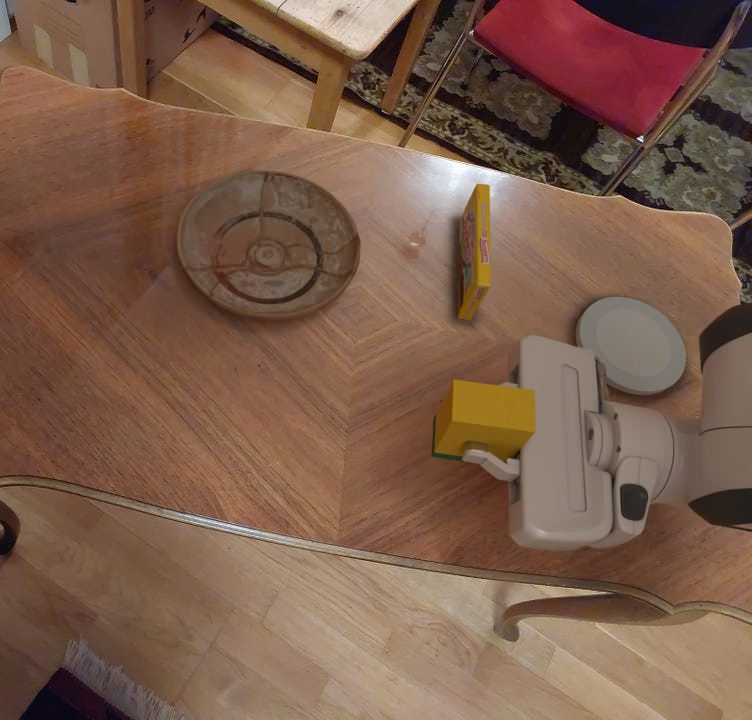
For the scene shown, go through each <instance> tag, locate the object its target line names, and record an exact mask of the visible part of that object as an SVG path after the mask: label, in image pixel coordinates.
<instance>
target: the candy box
mask: <svg viewBox="0 0 752 720" xmlns="http://www.w3.org/2000/svg"><path fill="white" fill-rule="evenodd" d="M491 238H492V237H491V187H490V184H486V183H476V184H475V186H474V189H473V190H472V192H471V195H470V197H469V198H468V201H467V203H466V205H465V207H464V210H463V212H462V215H461V217H460V219H459V221H458V274H457V275H458V280H457V281H458V283H457V284H458V286H457V287H458V289H457V290H458V291H457V293H458V296H457V297H458V298H457V301H458V303H457V307H458V309H457V319H460V320H464V321H471V320H472V318H473V316H474V315H475V313H476V311H478V308H479V307H480V305H481V303H482V302H483V300H484V299H485V297H486V295H487V293H488V292H489V291H490V289H491V287H492V244H491V243H492V241H491Z"/></svg>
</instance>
